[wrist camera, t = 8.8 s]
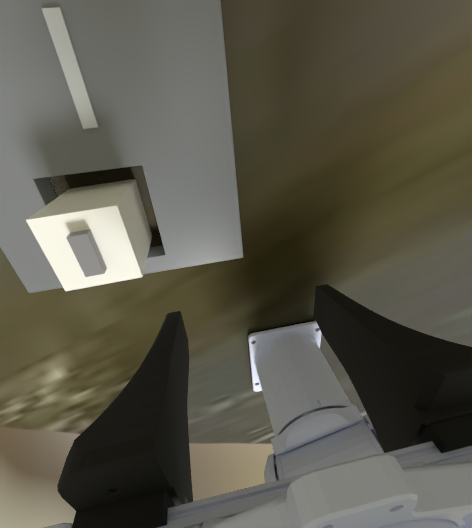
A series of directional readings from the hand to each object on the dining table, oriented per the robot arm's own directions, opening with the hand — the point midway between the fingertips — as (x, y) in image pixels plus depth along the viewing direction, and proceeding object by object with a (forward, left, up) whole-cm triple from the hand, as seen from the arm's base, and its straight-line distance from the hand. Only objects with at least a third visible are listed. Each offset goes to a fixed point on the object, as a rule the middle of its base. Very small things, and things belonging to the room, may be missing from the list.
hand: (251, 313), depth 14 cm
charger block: (+3, +8, -10) cm, 13 cm away
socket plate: (+7, +7, -9) cm, 14 cm away
